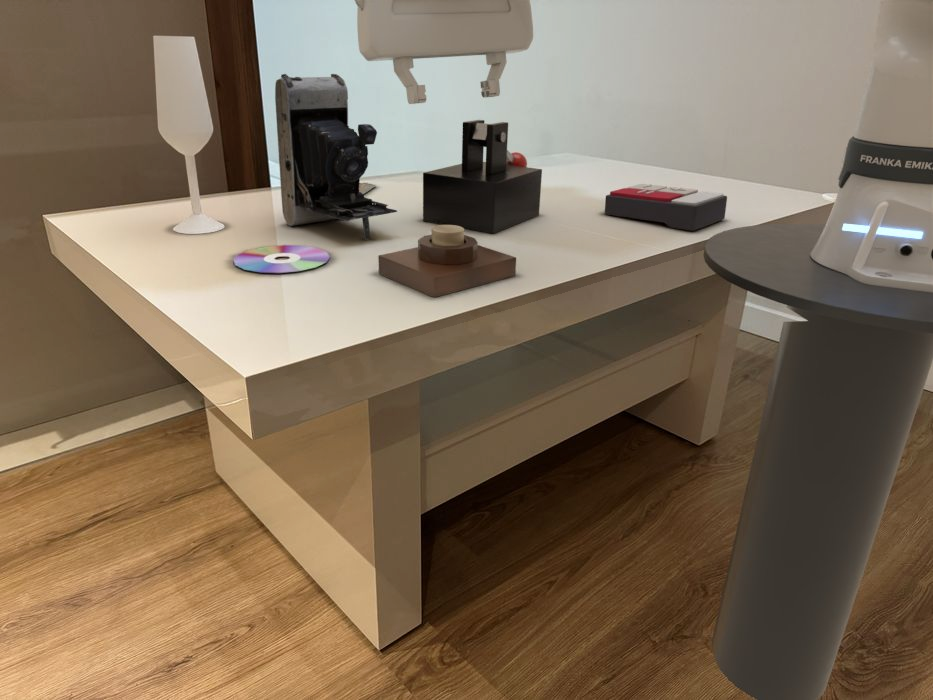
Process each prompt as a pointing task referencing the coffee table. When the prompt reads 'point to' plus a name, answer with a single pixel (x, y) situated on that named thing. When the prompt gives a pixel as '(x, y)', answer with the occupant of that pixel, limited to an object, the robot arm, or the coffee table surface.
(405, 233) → the coffee table surface
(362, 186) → the map
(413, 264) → the block
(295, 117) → the vintage camera
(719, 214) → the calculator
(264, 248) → the cd
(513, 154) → the red-knobbed metal lever
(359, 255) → the coffee table surface
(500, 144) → the lever stand
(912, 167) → the robot arm
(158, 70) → the champagne flute
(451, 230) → the timer button
